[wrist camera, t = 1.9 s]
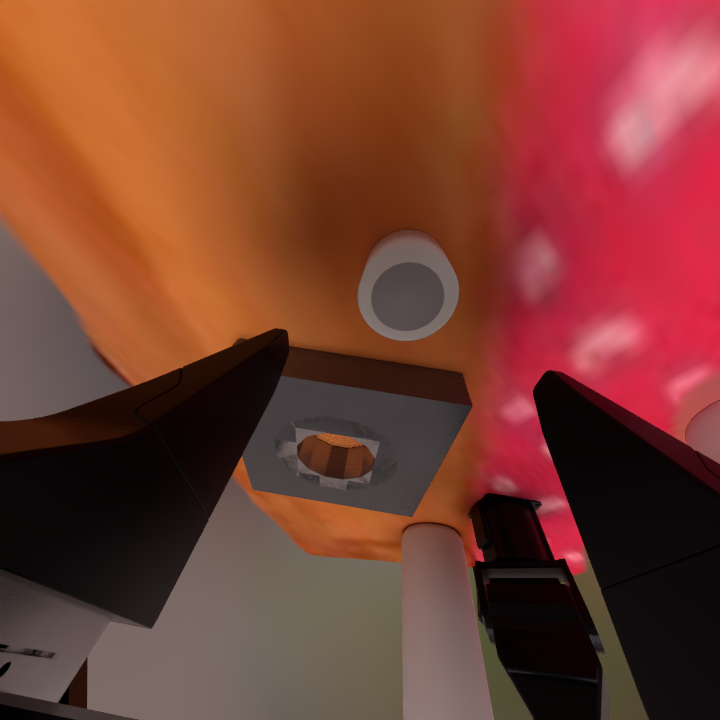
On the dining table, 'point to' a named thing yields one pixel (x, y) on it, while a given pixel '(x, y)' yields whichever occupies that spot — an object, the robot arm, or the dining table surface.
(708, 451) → the mug
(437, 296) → the cap
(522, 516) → the robot arm
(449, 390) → the dark grey square base
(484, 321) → the dining table surface
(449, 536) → the alcohol
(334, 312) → the dining table surface
